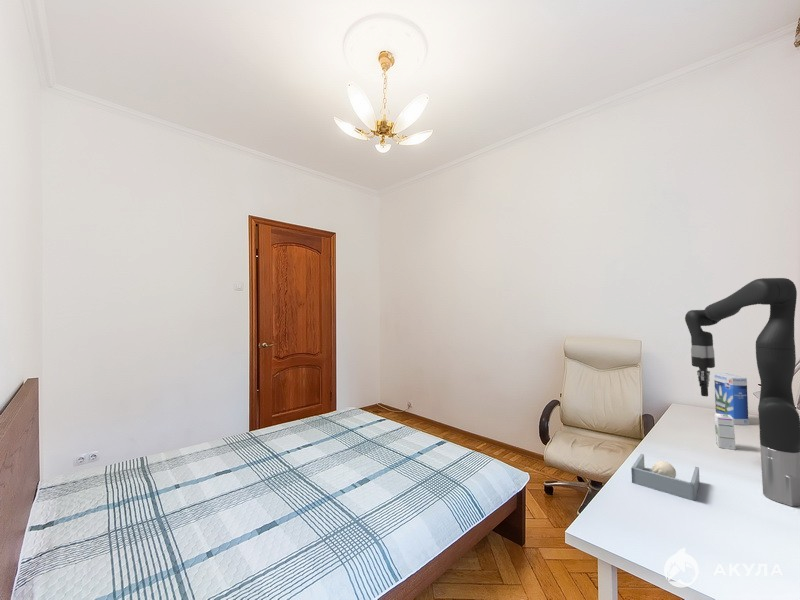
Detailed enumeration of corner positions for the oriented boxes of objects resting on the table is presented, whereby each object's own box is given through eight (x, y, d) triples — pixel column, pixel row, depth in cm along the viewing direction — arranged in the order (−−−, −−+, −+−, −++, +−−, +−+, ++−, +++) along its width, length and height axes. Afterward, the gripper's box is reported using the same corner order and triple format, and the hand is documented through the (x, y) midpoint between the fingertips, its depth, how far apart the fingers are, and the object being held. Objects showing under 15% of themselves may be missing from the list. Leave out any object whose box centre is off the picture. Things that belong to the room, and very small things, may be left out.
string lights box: (715, 417, 197) (713, 373, 198) (730, 417, 196) (727, 373, 197) (734, 425, 184) (731, 377, 185) (750, 425, 183) (747, 377, 184)
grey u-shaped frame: (641, 467, 139) (641, 453, 140) (699, 482, 126) (698, 467, 127) (631, 482, 127) (631, 467, 128) (694, 501, 115) (694, 484, 115)
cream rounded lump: (648, 475, 133) (647, 458, 133) (667, 475, 132) (666, 458, 132) (660, 484, 126) (660, 466, 126) (680, 484, 126) (680, 466, 126)
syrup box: (736, 450, 153) (734, 418, 153) (718, 447, 156) (717, 416, 156) (732, 445, 158) (730, 414, 158) (715, 443, 161) (713, 412, 161)
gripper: (692, 353, 154) (694, 391, 153) (689, 356, 144) (691, 397, 144) (715, 354, 148) (717, 394, 148) (713, 358, 139) (715, 400, 139)
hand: (704, 395), depth 146 cm, fingers closed
